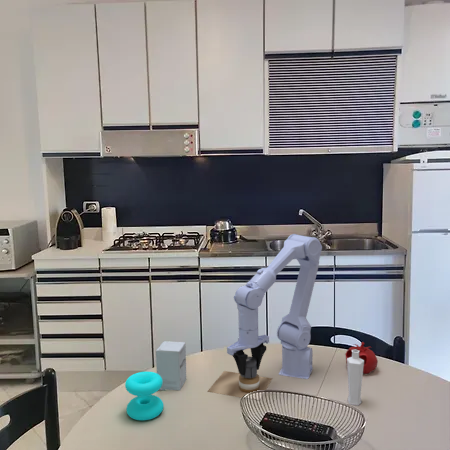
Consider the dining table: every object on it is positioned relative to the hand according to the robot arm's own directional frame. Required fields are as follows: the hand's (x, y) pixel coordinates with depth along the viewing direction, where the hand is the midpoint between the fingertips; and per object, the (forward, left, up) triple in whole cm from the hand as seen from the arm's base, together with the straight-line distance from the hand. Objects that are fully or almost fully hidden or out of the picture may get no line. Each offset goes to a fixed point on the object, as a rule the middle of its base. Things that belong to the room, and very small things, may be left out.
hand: (248, 371), depth 138 cm
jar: (0, 0, -5) cm, 5 cm away
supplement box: (+23, +5, -6) cm, 24 cm away
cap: (0, 0, -1) cm, 1 cm away
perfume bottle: (-30, -3, -6) cm, 31 cm away
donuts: (+23, +21, -6) cm, 32 cm away
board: (+3, -1, -6) cm, 7 cm away
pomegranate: (-30, -24, -6) cm, 39 cm away
